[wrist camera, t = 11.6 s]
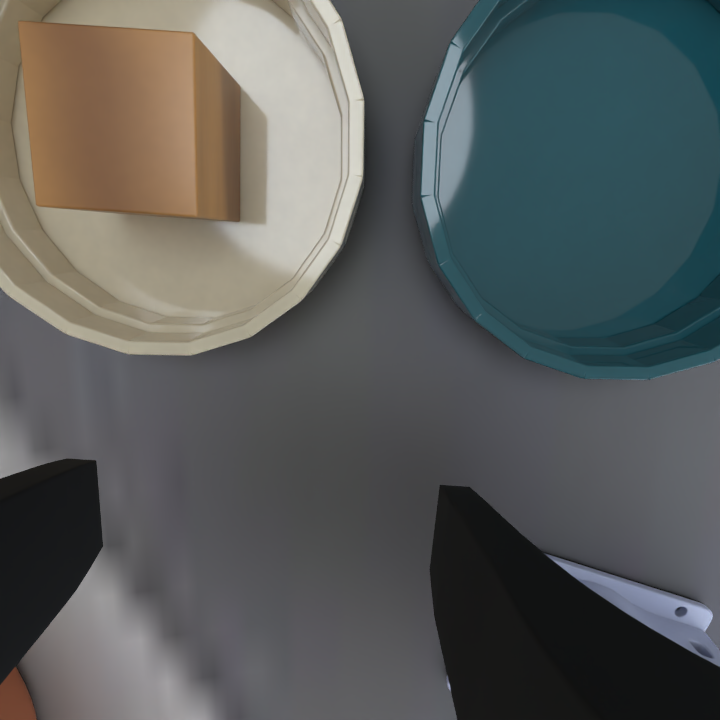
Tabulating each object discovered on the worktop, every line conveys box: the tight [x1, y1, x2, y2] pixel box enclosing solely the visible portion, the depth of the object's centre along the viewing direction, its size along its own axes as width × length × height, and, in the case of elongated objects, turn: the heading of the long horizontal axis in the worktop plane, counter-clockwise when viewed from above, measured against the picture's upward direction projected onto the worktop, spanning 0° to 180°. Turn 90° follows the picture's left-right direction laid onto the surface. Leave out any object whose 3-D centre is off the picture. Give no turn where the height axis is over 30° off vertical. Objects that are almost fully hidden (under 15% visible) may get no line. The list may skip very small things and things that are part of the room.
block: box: [18, 21, 241, 222], centre depth 14 cm, size 4×4×4 cm
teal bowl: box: [412, 0, 720, 380], centre depth 15 cm, size 13×13×4 cm
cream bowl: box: [0, 0, 366, 356], centre depth 15 cm, size 13×13×4 cm
